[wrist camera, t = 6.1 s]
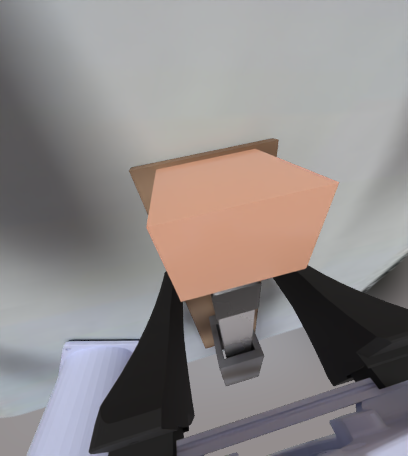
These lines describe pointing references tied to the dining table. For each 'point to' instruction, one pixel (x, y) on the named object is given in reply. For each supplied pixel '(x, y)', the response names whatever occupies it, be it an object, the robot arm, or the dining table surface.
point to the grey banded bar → (236, 316)
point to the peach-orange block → (235, 220)
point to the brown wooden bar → (202, 306)
